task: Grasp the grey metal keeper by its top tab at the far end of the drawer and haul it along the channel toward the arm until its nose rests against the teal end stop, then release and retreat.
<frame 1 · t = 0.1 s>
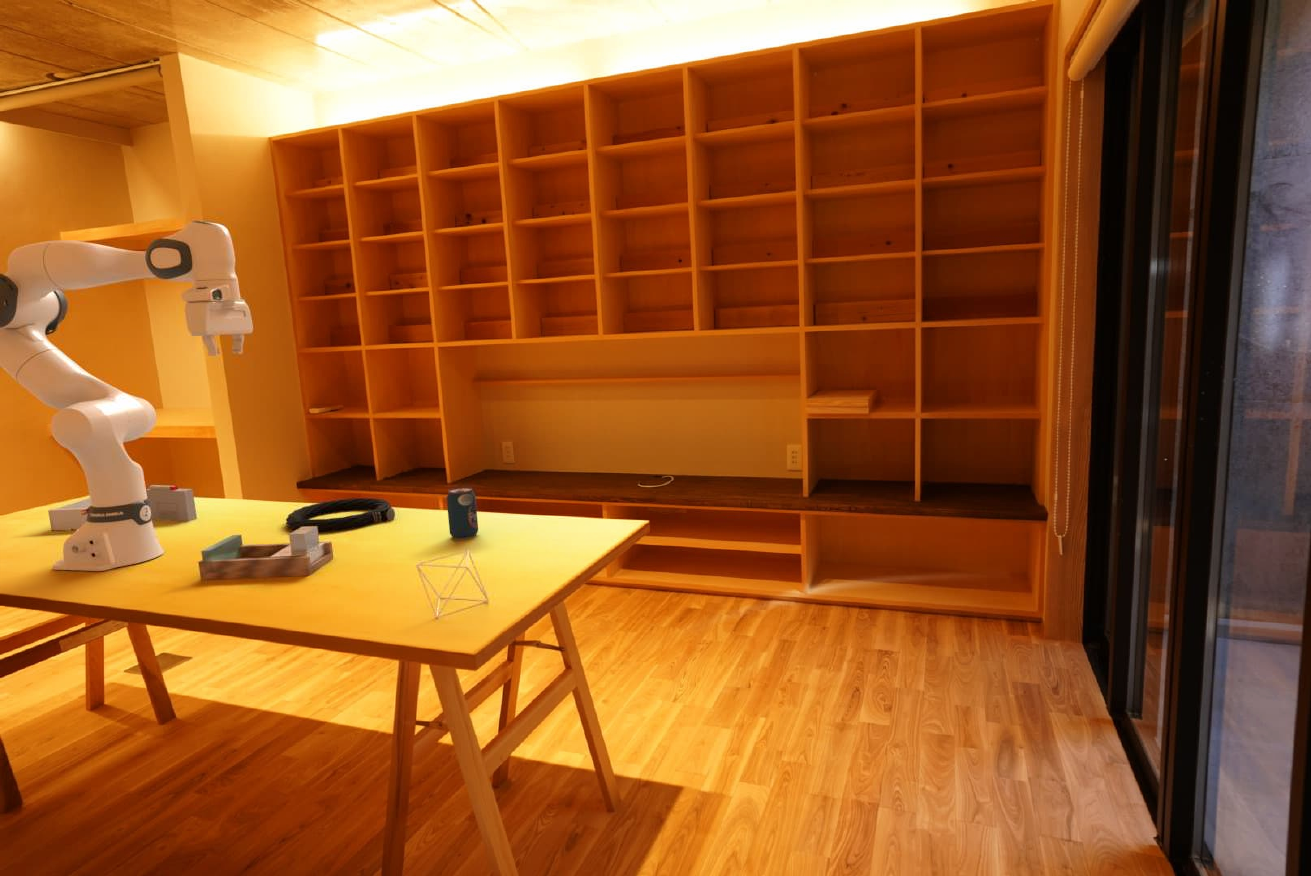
hand: (226, 354, 176), 48 cm above the table, tool pointing down, fingers open, 8 cm apart
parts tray: (103, 519, 228), on the table
keeper: (297, 545, 171), point 5 cm above the table, slide at 12.0 cm
cassette player: (173, 520, 224), on the table
soda can: (464, 537, 190), on the table
geometric polyhedron: (455, 606, 144), on the table
drawer: (269, 568, 172), on the table
cable lock: (344, 521, 213), on the table
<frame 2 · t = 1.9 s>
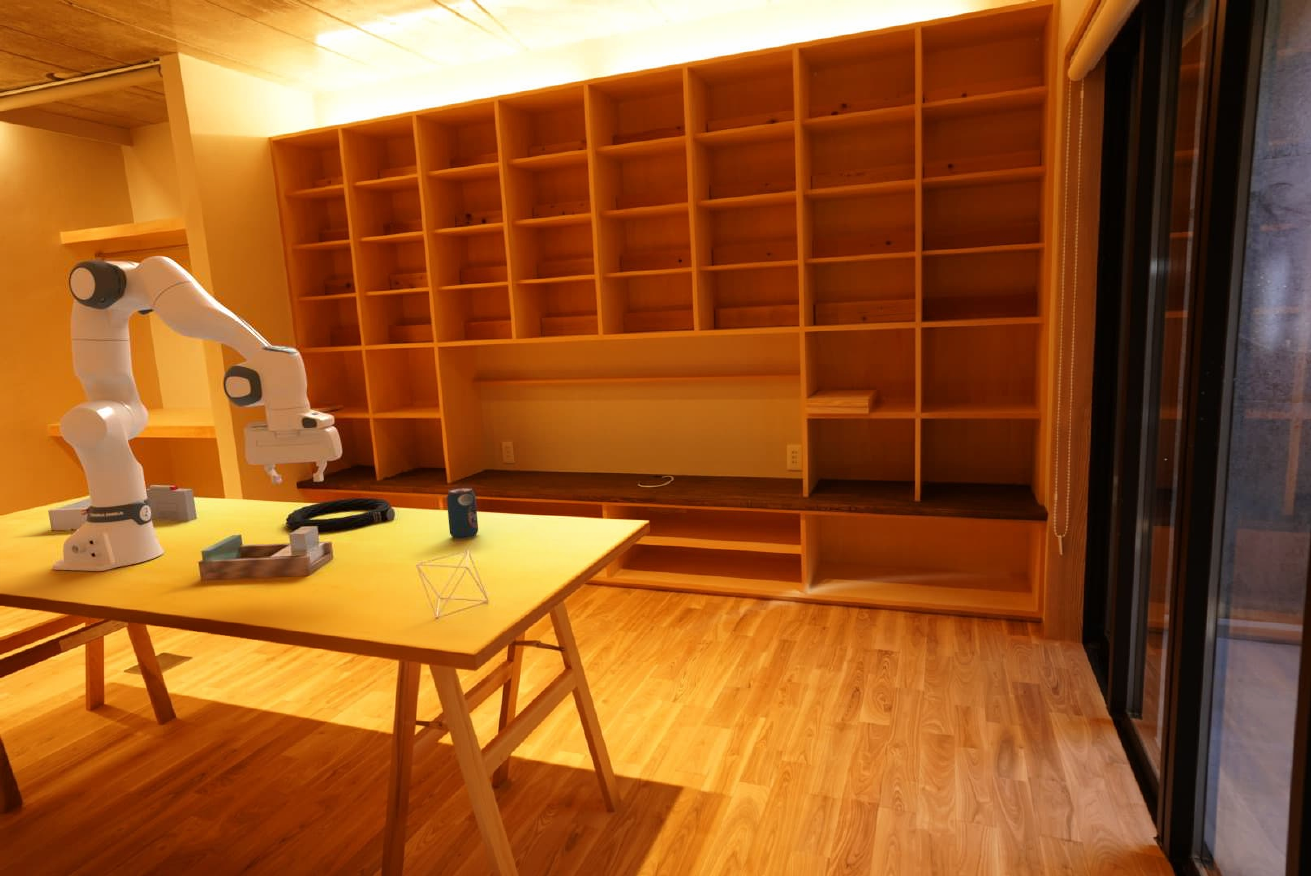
hand: (297, 482, 169), 20 cm above the table, tool pointing down, fingers open, 8 cm apart
nothing on the table moved.
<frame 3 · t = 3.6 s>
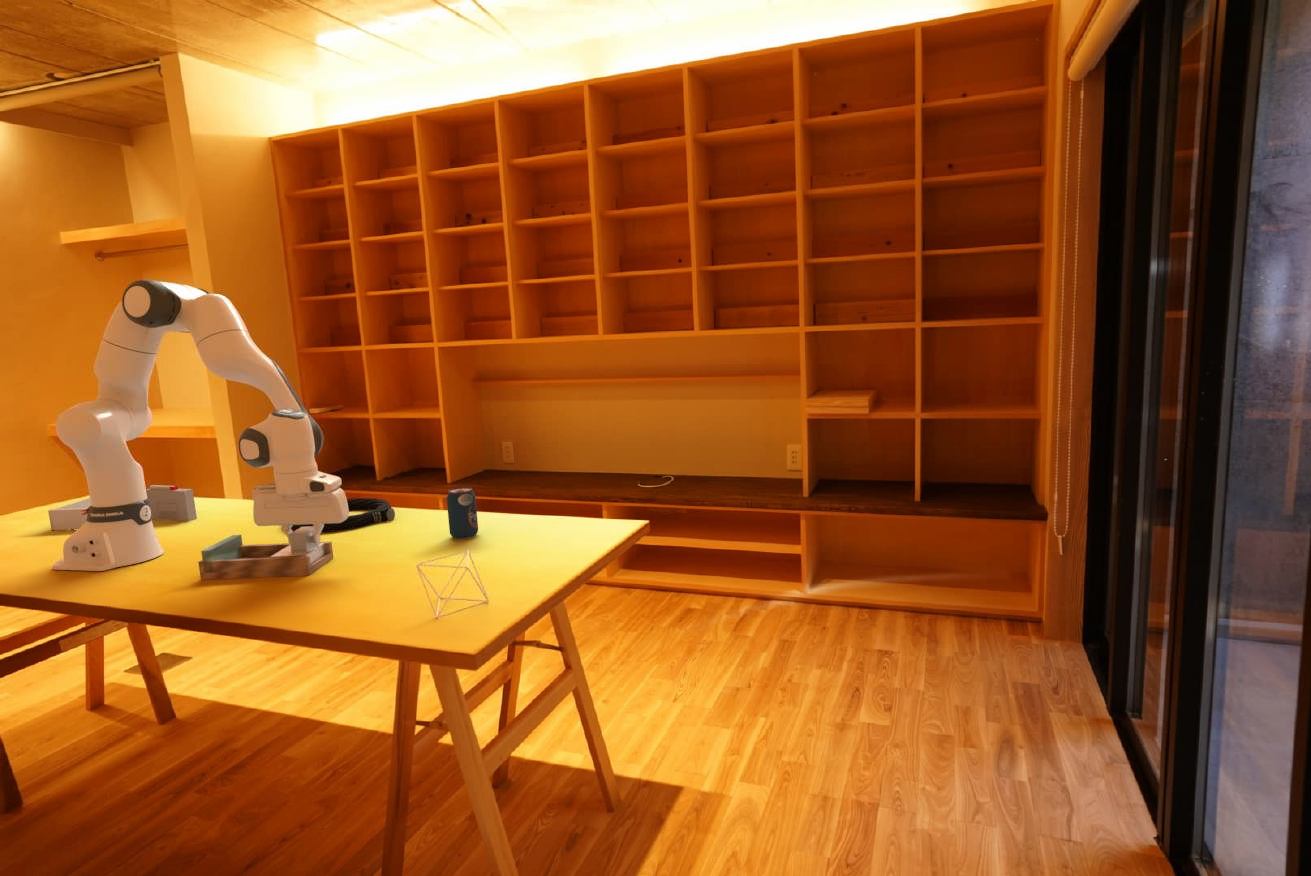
hand: (304, 543, 171), 6 cm above the table, tool pointing down, fingers closed on keeper, 3 cm apart
keeper: (297, 545, 171), point 5 cm above the table, slide at 12.0 cm, touching gripper
everything else where it was.
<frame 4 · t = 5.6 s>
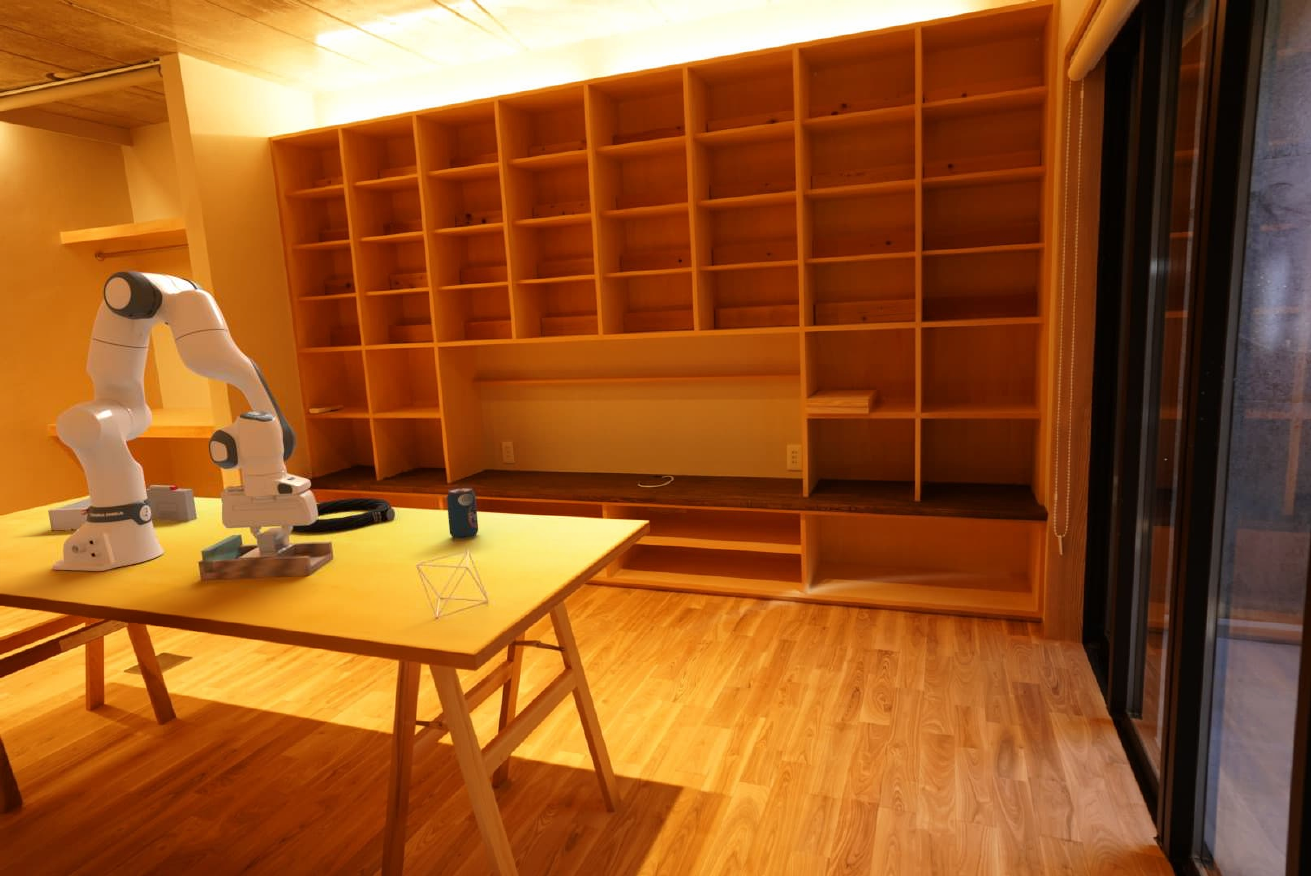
hand: (273, 545, 171), 5 cm above the table, tool pointing down, fingers closed on keeper, 3 cm apart
keeper: (266, 546, 171), point 5 cm above the table, slide at 4.9 cm, touching gripper
everything else where it was.
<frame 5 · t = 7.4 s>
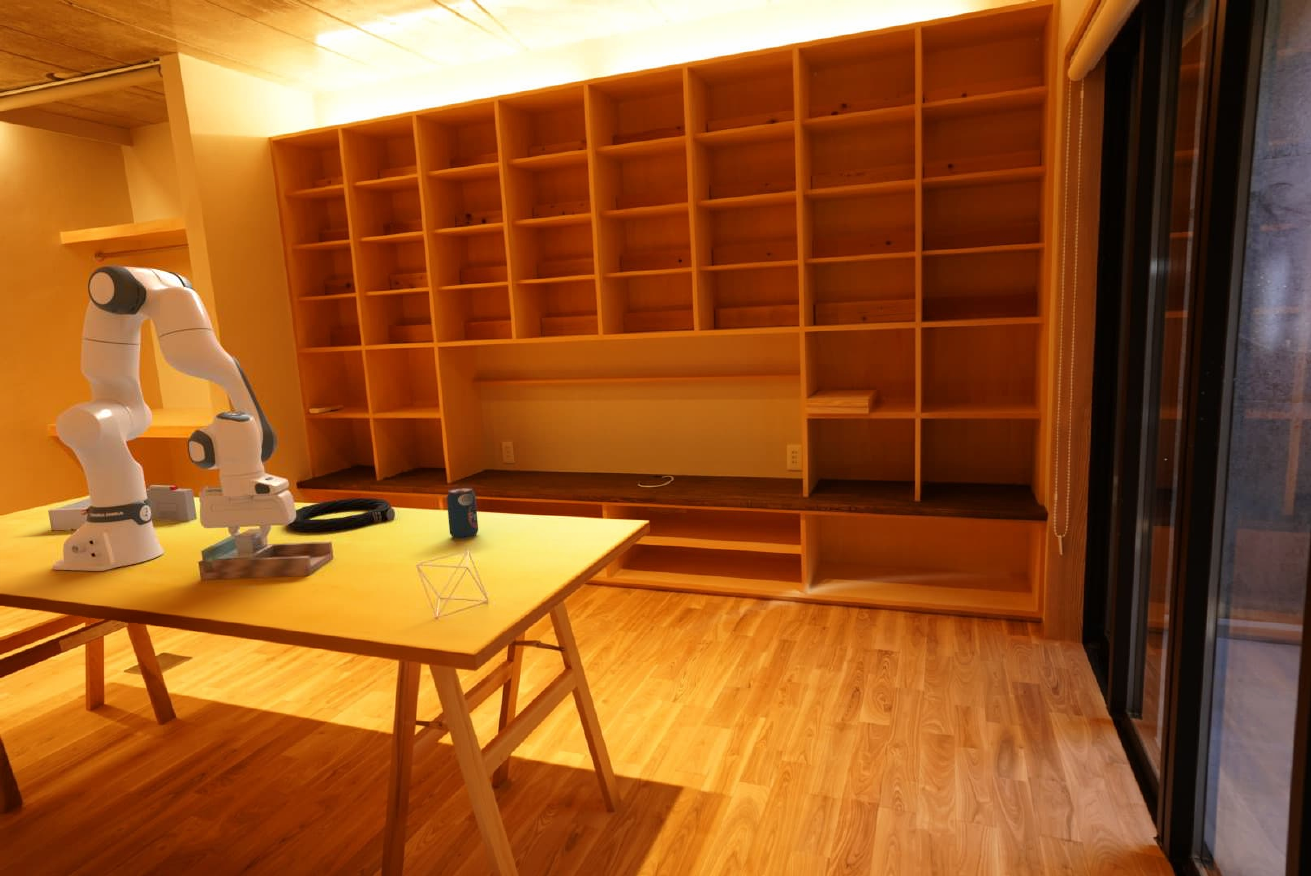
hand: (252, 545, 171), 6 cm above the table, tool pointing down, fingers closed on keeper, 3 cm apart
keeper: (244, 547, 171), point 5 cm above the table, slide at -0.1 cm, touching gripper
everything else where it was.
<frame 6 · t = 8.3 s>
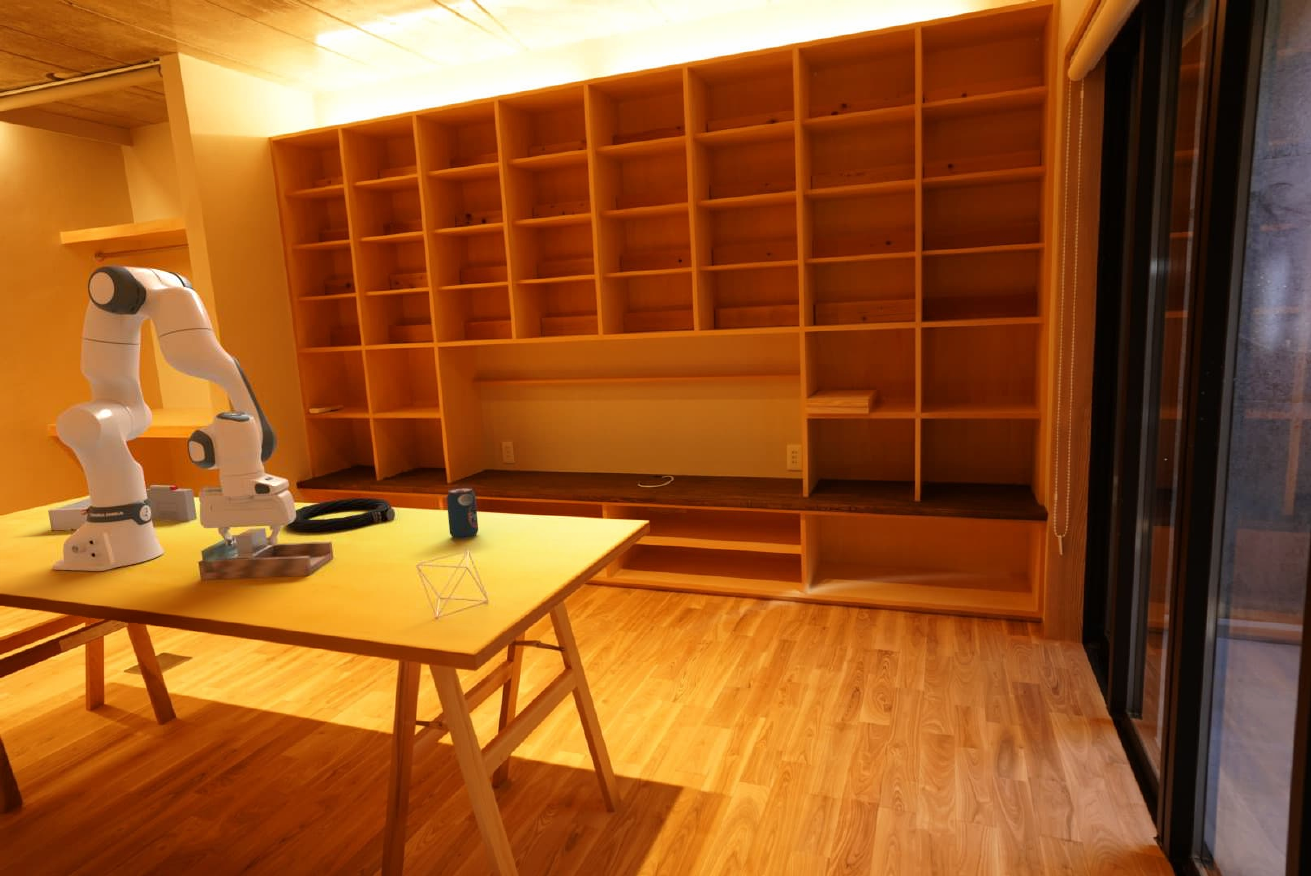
hand: (252, 545, 171), 6 cm above the table, tool pointing down, fingers open, 8 cm apart
keeper: (244, 547, 171), point 5 cm above the table, slide at 0.0 cm
everything else where it was.
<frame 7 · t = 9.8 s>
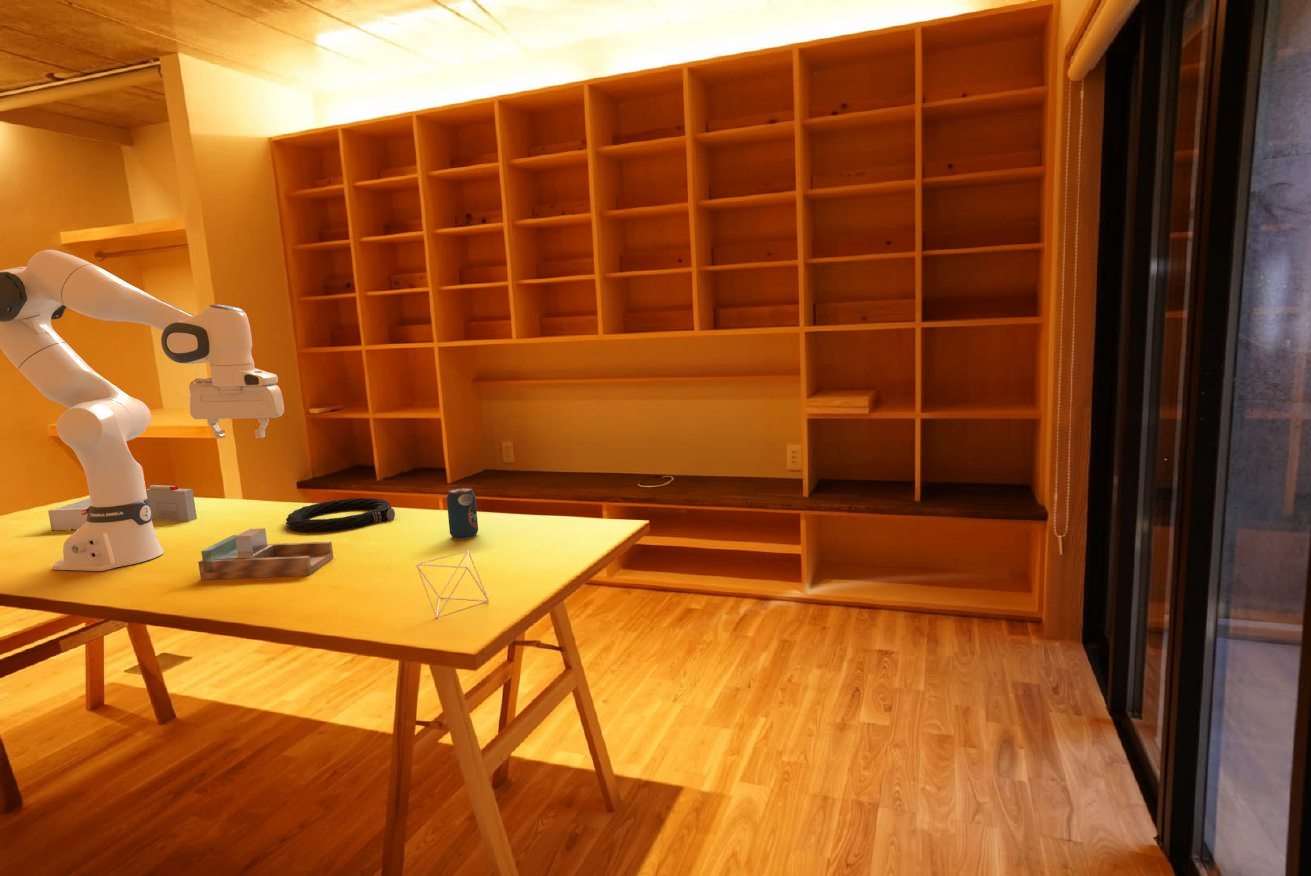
hand: (240, 437, 174), 29 cm above the table, tool pointing down, fingers open, 8 cm apart
nothing on the table moved.
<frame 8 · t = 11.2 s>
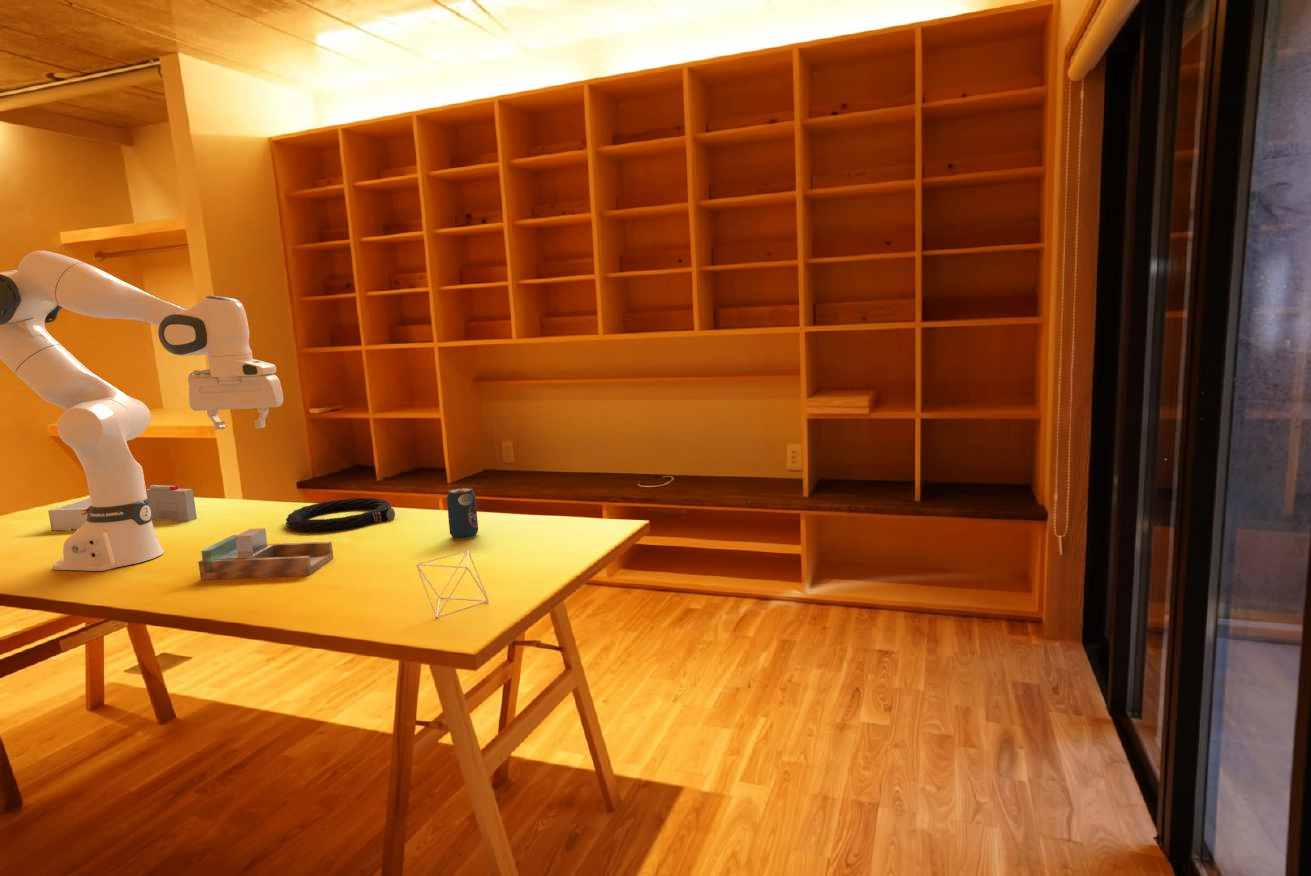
hand: (240, 428, 175), 31 cm above the table, tool pointing down, fingers open, 8 cm apart
nothing on the table moved.
at the end: keeper slide at 0.0 cm; the gripper is holding nothing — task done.
